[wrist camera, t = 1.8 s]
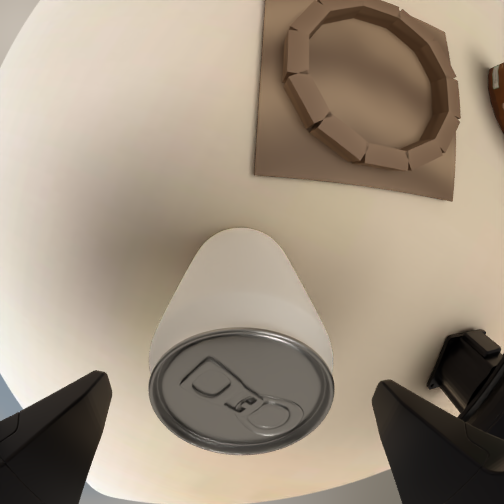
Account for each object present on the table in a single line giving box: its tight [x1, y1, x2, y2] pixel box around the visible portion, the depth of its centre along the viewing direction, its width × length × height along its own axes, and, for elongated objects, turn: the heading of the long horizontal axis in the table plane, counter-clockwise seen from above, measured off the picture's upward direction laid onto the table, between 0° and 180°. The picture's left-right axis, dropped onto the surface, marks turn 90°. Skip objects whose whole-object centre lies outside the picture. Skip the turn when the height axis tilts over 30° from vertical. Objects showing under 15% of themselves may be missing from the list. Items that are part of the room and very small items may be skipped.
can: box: [148, 228, 334, 455], centre depth 13 cm, size 6×6×12 cm
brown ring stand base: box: [254, 0, 461, 201], centre depth 14 cm, size 15×15×3 cm
